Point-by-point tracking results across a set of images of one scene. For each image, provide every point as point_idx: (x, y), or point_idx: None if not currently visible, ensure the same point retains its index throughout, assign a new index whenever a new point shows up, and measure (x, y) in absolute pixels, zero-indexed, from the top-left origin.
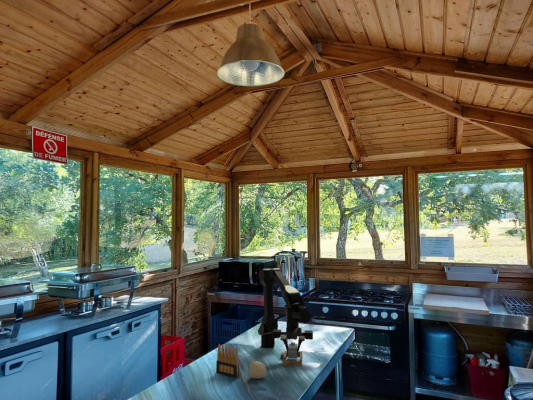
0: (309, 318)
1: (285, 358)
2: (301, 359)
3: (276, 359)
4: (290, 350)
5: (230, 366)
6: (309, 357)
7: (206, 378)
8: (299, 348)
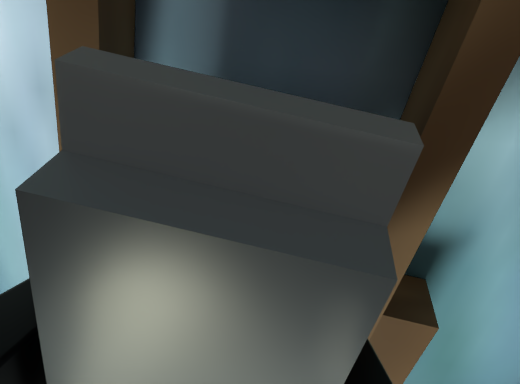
0: None
1: None
2: (57, 22)
3: (508, 261)
4: (297, 181)
5: None
6: (7, 256)
7: None
8: (2, 295)
